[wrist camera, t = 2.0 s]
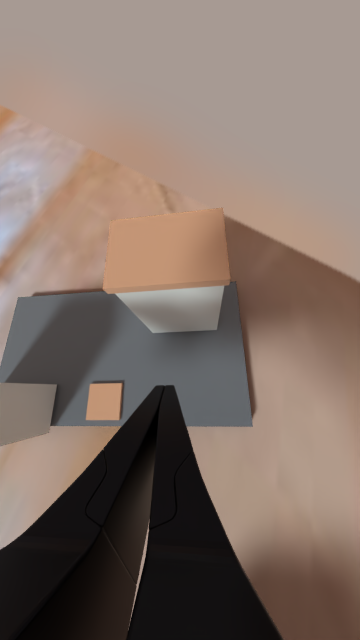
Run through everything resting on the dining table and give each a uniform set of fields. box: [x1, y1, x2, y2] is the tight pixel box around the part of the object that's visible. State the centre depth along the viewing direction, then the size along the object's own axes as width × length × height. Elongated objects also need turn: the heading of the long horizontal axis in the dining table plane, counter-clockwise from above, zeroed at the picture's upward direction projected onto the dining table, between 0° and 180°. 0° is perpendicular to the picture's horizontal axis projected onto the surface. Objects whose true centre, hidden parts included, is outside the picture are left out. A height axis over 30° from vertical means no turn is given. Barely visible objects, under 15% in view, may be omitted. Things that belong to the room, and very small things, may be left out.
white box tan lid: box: [103, 208, 230, 333], centre depth 15 cm, size 4×6×10 cm
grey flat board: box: [0, 281, 253, 427], centre depth 20 cm, size 13×24×2 cm, turn 91°
